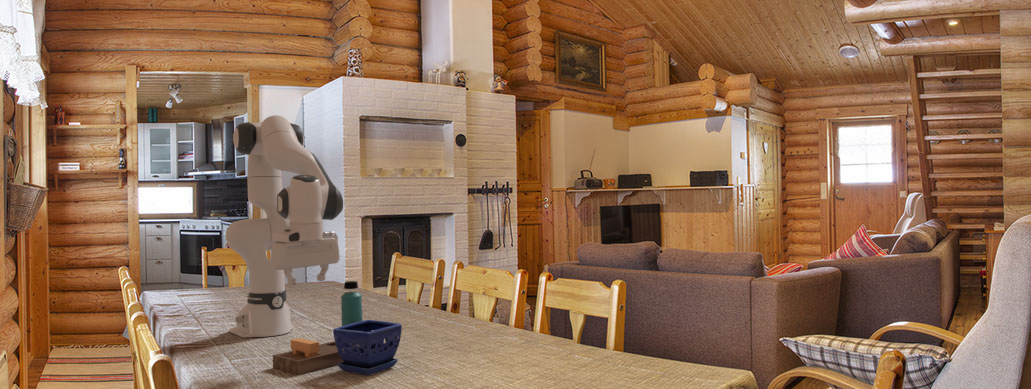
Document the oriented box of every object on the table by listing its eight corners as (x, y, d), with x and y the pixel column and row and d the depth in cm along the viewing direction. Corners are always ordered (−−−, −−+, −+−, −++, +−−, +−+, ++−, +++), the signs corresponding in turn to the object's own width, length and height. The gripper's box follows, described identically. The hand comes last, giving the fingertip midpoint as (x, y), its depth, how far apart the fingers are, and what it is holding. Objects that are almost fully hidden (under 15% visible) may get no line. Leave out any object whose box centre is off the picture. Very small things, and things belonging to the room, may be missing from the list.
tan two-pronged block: (319, 368, 184) (318, 342, 184) (310, 370, 182) (310, 344, 182) (299, 363, 190) (299, 338, 190) (291, 365, 188) (290, 339, 188)
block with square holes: (273, 368, 185) (272, 355, 185) (345, 350, 204) (345, 339, 204) (298, 374, 177) (298, 361, 177) (371, 356, 196) (371, 344, 196)
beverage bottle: (358, 349, 206) (356, 282, 205) (337, 348, 207) (336, 282, 207) (366, 344, 212) (365, 280, 212) (347, 343, 213) (345, 279, 213)
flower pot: (369, 379, 172) (368, 332, 172) (332, 372, 179) (331, 327, 179) (404, 367, 184) (403, 323, 184) (368, 361, 191) (367, 318, 191)
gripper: (330, 230, 200) (331, 277, 200) (267, 235, 184) (267, 286, 184) (343, 231, 196) (344, 279, 196) (280, 236, 180) (280, 288, 180)
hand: (306, 282), depth 190 cm, fingers open, 8 cm apart
